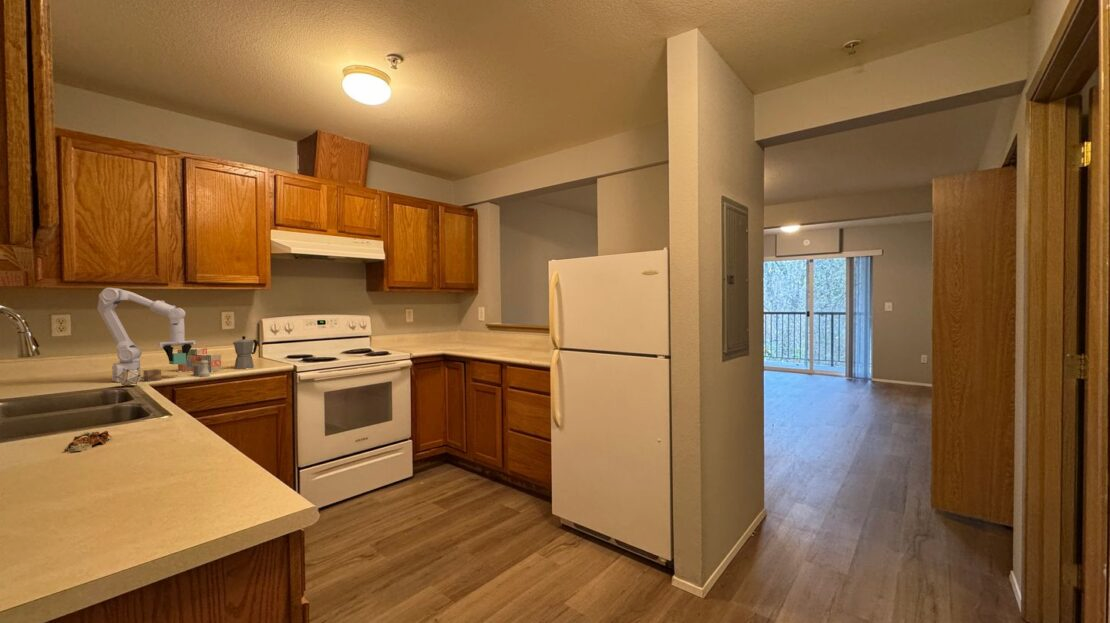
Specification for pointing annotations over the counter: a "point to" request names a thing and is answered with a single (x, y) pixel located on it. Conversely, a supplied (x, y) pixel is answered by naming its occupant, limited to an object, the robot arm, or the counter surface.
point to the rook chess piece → (204, 369)
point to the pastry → (87, 441)
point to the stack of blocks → (200, 359)
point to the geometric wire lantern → (130, 377)
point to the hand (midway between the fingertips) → (177, 360)
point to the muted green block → (178, 358)
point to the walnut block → (152, 375)
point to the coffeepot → (244, 353)
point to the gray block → (198, 369)
